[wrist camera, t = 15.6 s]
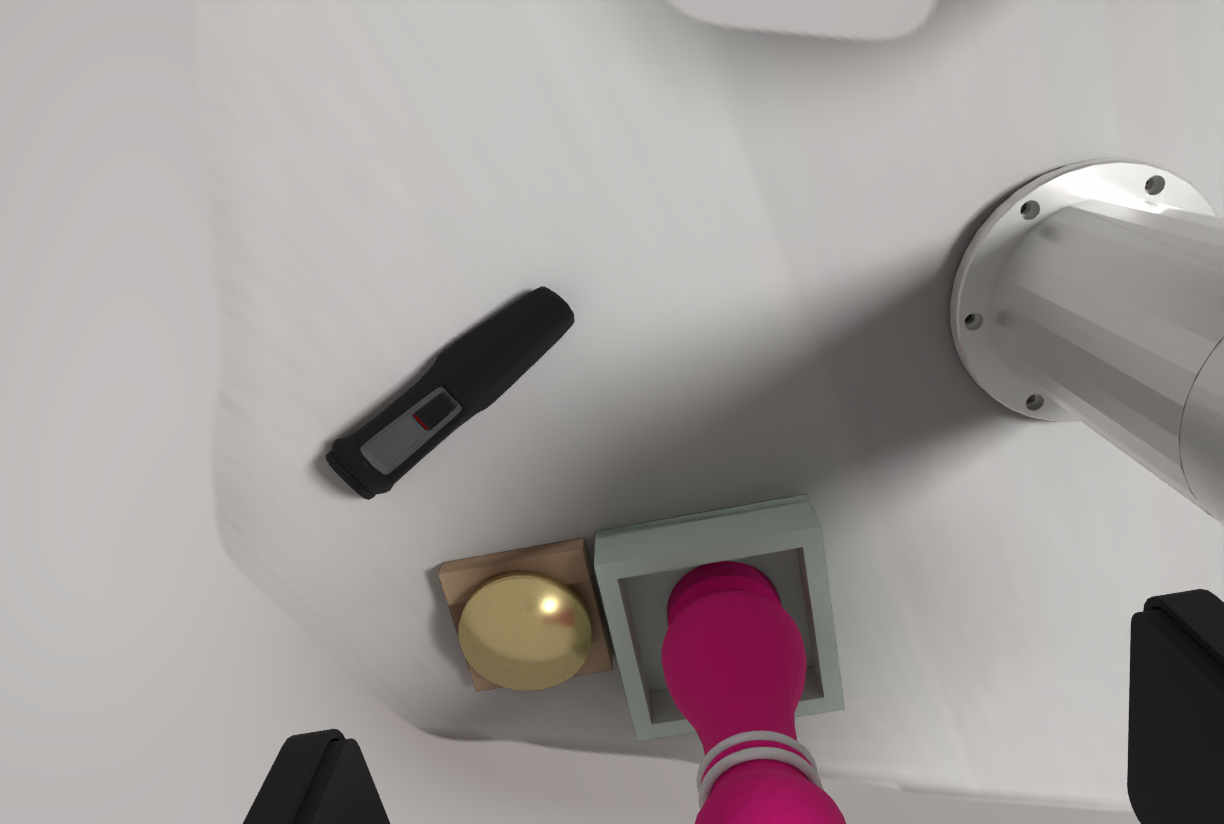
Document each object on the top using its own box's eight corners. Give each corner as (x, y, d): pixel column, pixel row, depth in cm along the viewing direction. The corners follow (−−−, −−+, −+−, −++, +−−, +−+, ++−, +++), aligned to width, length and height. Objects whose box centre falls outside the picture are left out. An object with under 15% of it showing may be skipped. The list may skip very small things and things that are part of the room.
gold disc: (577, 551, 45) (575, 569, 44) (604, 659, 48) (603, 679, 46) (449, 573, 46) (442, 592, 44) (482, 678, 49) (477, 700, 47)
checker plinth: (583, 537, 46) (582, 549, 45) (612, 656, 49) (612, 669, 48) (442, 562, 47) (438, 574, 45) (479, 678, 49) (476, 691, 48)
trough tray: (806, 494, 45) (820, 526, 42) (829, 667, 49) (844, 709, 46) (595, 531, 46) (593, 565, 42) (636, 698, 50) (637, 741, 47)
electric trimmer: (595, 319, 42) (594, 336, 39) (375, 496, 45) (358, 524, 42) (546, 261, 41) (540, 274, 38) (324, 447, 44) (304, 472, 41)
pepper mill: (642, 645, 47) (657, 1007, 29) (679, 537, 45) (722, 857, 26) (763, 673, 48) (855, 1045, 29) (807, 568, 46) (936, 902, 27)
